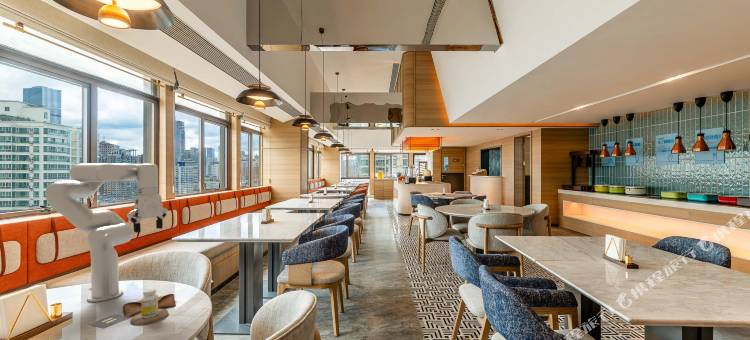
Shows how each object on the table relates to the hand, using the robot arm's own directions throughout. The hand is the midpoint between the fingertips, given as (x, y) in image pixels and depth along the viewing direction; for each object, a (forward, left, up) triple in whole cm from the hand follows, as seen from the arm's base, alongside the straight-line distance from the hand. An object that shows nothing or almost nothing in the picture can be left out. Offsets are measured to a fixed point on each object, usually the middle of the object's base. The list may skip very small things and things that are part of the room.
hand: (148, 230), depth 144 cm
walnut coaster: (+19, -13, -30) cm, 38 cm away
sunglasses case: (+11, -7, -31) cm, 34 cm away
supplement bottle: (+19, -13, -30) cm, 37 cm away
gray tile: (+7, -20, -30) cm, 37 cm away
